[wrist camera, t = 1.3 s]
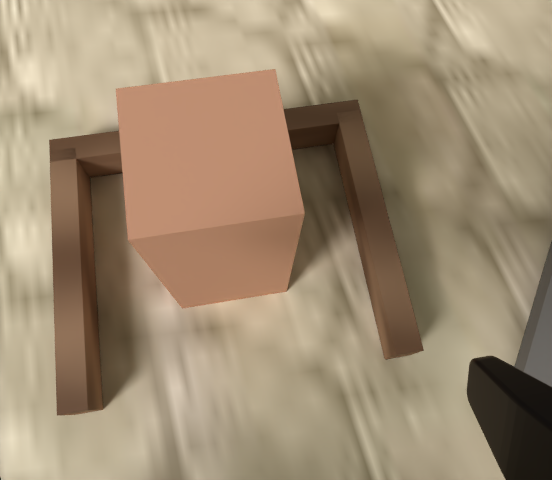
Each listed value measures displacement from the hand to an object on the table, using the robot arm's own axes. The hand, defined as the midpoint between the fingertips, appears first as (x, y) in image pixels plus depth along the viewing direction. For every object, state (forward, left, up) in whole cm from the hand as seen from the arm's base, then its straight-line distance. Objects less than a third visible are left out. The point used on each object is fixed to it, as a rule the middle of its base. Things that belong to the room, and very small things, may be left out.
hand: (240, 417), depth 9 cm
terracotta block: (+3, +7, -13) cm, 15 cm away
